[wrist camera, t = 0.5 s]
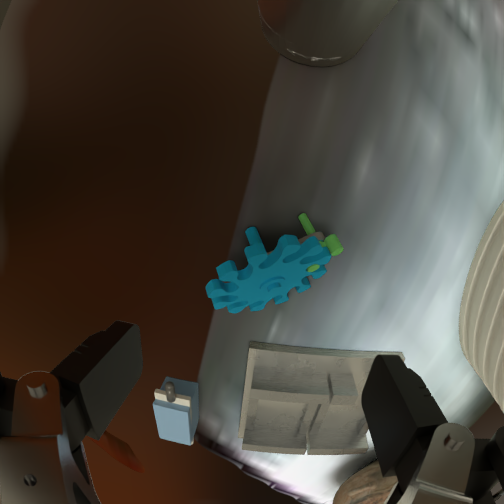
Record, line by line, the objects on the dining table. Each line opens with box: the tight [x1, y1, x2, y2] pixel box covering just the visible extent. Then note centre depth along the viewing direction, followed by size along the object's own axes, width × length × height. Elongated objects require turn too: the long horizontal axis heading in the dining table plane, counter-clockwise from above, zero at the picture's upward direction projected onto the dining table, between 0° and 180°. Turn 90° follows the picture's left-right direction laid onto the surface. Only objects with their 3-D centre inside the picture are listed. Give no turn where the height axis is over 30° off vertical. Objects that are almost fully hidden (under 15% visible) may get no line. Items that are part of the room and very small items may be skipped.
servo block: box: [153, 376, 199, 445], centre depth 30 cm, size 12×4×5 cm, turn 174°
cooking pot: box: [333, 460, 398, 504], centre depth 30 cm, size 25×19×12 cm
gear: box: [206, 213, 344, 313], centre depth 24 cm, size 11×6×10 cm
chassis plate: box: [238, 341, 405, 455], centre depth 29 cm, size 16×17×5 cm
